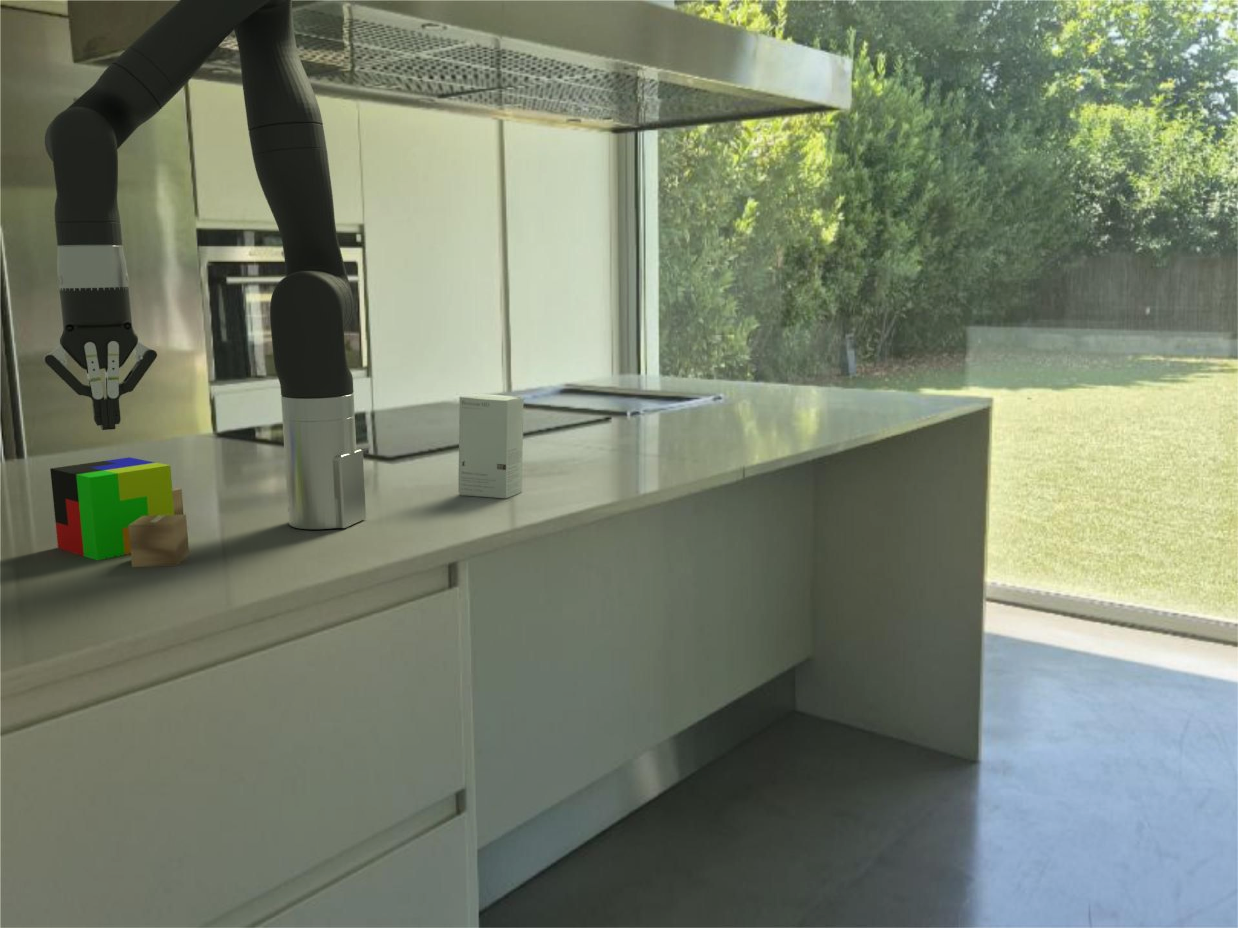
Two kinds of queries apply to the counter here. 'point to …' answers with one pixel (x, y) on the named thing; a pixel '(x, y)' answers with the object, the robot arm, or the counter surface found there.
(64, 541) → the puzzle toy
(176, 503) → the two bar block
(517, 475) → the skincare box
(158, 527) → the one bar block
